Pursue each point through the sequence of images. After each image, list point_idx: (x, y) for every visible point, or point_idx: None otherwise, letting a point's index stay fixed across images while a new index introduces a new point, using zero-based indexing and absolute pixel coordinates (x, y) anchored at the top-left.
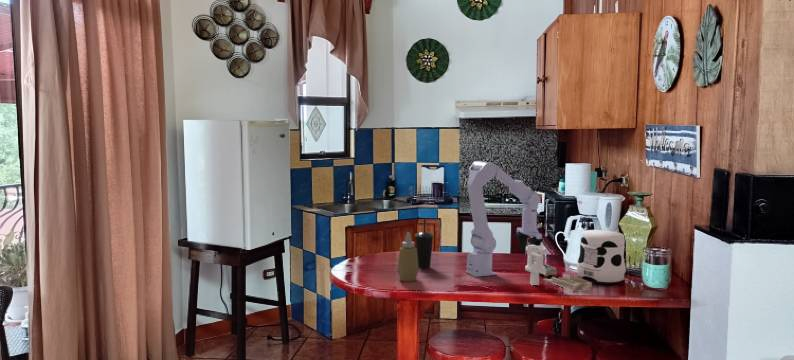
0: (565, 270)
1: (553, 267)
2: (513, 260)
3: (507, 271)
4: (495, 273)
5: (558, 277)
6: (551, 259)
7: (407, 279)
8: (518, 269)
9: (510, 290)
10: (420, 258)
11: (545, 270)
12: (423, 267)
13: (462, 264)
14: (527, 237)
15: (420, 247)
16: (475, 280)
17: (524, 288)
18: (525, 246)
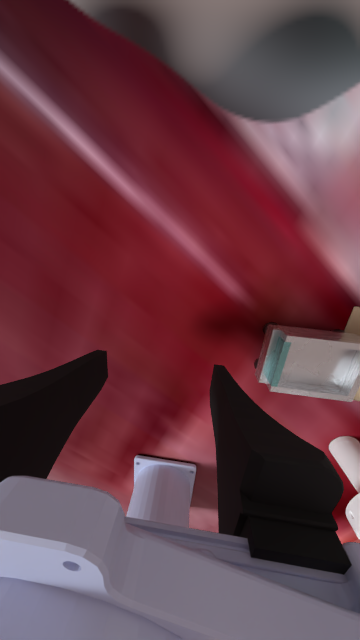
0: (294, 191)
1: (354, 347)
2: (44, 302)
3: (176, 417)
4: (194, 469)
5: (354, 324)
6: (63, 70)
7: None
8: (171, 374)
9: (332, 515)
10: None
11: (344, 397)
12: None
13: (60, 464)
14: (27, 404)
15: None
16: (211, 518)
17: (347, 485)
18: (89, 366)
